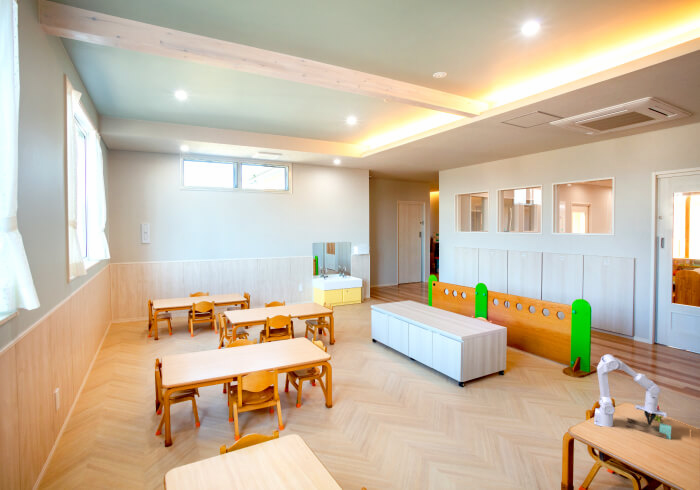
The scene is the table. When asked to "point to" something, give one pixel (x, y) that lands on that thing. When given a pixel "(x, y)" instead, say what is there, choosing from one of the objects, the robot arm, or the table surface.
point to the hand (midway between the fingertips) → (649, 424)
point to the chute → (644, 428)
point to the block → (665, 430)
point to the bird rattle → (656, 416)
